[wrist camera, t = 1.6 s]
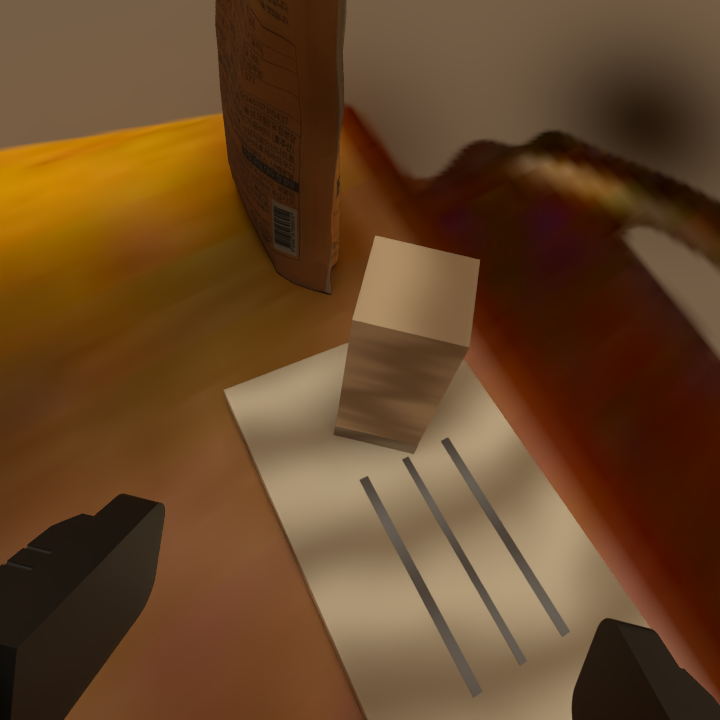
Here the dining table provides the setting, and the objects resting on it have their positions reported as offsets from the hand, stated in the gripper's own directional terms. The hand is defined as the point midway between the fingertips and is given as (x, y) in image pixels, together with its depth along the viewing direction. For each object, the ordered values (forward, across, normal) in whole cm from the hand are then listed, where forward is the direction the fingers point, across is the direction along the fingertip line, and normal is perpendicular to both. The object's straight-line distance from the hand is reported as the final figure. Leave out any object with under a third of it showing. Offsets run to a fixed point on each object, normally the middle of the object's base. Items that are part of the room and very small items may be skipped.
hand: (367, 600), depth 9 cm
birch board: (+18, -3, +8) cm, 20 cm away
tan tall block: (+21, 0, +3) cm, 21 cm away
